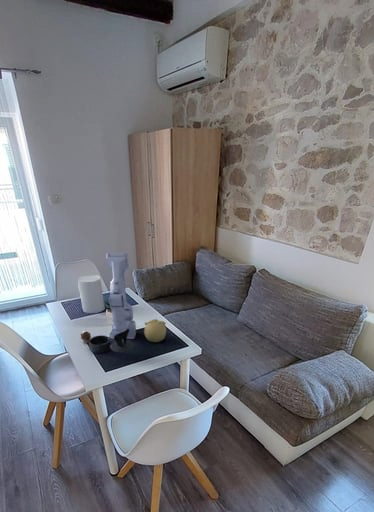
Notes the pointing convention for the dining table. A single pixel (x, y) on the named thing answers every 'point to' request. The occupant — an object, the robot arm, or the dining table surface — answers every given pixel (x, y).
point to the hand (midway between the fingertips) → (122, 344)
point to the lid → (124, 348)
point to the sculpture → (155, 330)
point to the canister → (91, 293)
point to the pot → (100, 344)
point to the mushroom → (85, 336)
